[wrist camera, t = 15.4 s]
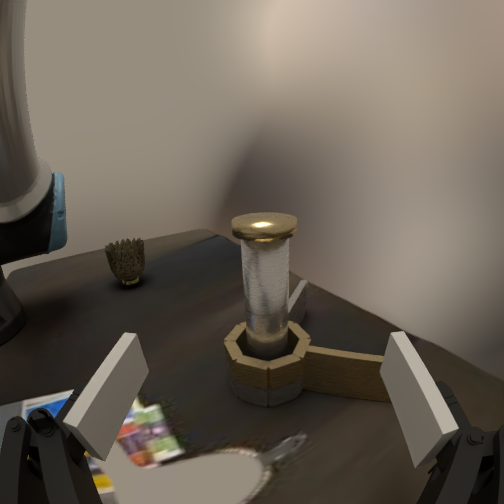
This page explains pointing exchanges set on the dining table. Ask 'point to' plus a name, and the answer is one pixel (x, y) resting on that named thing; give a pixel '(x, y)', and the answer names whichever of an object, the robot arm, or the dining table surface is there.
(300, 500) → the dining table surface
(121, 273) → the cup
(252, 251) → the hinge pin
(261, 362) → the ring holder
